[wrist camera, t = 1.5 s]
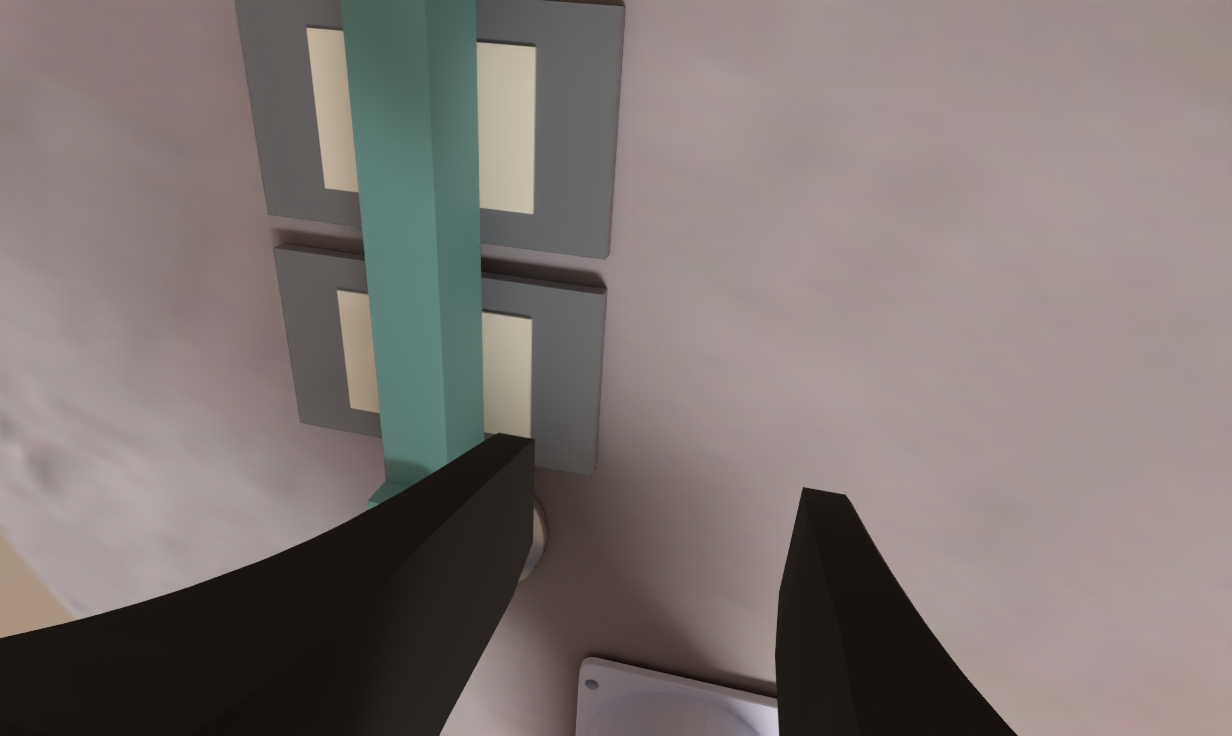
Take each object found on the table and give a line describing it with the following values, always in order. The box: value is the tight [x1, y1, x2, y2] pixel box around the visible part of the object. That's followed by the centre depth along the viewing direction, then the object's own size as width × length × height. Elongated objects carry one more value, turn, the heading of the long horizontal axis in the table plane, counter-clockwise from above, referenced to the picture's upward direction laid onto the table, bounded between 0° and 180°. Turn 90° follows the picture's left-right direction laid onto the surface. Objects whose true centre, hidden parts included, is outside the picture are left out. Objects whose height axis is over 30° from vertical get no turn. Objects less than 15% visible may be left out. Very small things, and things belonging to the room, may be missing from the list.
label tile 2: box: [273, 244, 607, 477], centre depth 22 cm, size 6×10×1 cm, turn 86°
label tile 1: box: [235, 0, 626, 260], centre depth 18 cm, size 6×10×1 cm, turn 86°
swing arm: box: [340, 0, 484, 509], centre depth 18 cm, size 19×4×4 cm, turn 176°
